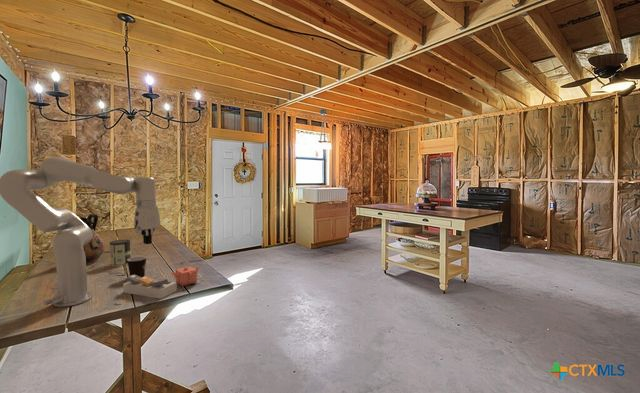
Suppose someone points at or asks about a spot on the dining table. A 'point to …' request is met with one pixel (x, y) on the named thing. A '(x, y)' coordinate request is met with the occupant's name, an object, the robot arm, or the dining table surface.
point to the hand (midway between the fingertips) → (147, 243)
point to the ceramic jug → (93, 241)
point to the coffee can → (120, 252)
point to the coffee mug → (137, 266)
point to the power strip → (150, 289)
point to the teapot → (186, 275)
